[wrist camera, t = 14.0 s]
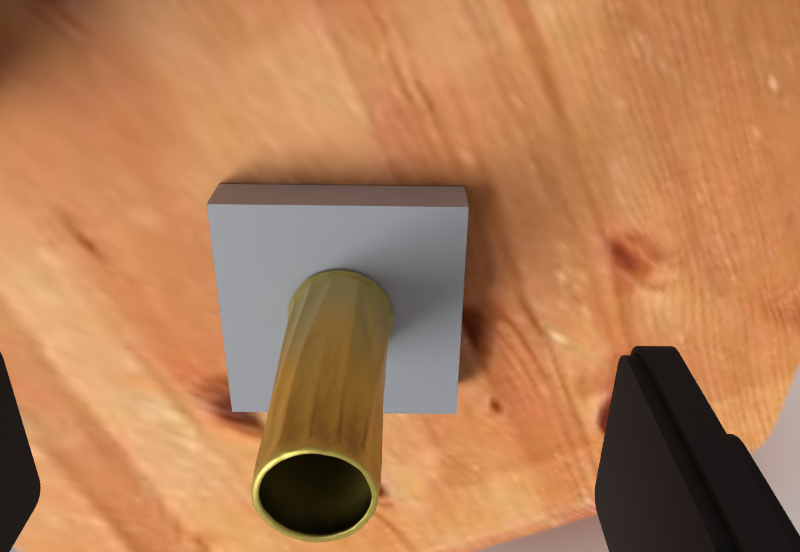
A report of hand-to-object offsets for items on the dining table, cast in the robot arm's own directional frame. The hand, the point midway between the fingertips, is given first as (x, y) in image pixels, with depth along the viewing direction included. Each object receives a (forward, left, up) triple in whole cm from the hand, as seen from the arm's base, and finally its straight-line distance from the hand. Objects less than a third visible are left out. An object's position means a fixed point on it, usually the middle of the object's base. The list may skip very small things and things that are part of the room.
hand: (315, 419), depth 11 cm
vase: (+15, -2, -28) cm, 31 cm away
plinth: (+15, -2, -30) cm, 34 cm away
